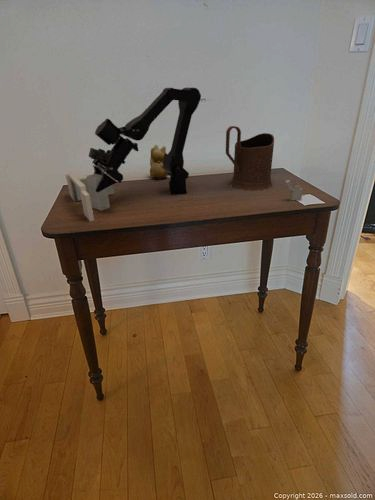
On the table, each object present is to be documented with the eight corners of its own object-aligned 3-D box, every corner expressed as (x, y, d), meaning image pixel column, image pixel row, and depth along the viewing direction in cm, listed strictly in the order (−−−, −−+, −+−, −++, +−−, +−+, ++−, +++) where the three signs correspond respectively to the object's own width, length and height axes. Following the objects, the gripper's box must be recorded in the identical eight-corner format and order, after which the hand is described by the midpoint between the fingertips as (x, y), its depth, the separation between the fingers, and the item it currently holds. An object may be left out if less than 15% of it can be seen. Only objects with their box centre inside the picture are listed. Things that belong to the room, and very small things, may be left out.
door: (75, 201, 121) (71, 180, 117) (74, 199, 123) (69, 178, 119) (114, 194, 128) (111, 173, 124) (112, 192, 130) (109, 172, 126)
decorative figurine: (171, 176, 150) (170, 144, 143) (163, 181, 143) (161, 148, 136) (154, 175, 153) (152, 143, 146) (145, 179, 147) (142, 146, 140)
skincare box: (110, 207, 115) (105, 175, 110) (100, 211, 113) (95, 178, 107) (101, 204, 119) (96, 173, 113) (91, 207, 116) (85, 175, 111)
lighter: (299, 198, 119) (302, 177, 115) (301, 199, 117) (304, 179, 113) (281, 200, 118) (284, 179, 114) (284, 201, 116) (286, 180, 112)
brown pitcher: (282, 185, 134) (289, 123, 122) (240, 196, 122) (244, 129, 110) (251, 176, 148) (255, 119, 136) (211, 185, 136) (212, 124, 124)
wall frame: (69, 195, 129) (64, 170, 124) (74, 195, 129) (68, 169, 124) (89, 221, 104) (83, 190, 99) (94, 220, 105) (89, 189, 100)
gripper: (93, 135, 113) (68, 170, 113) (108, 142, 98) (80, 182, 99) (117, 154, 120) (93, 187, 121) (134, 163, 106) (108, 201, 106)
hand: (93, 189), depth 111 cm, fingers open, 7 cm apart
